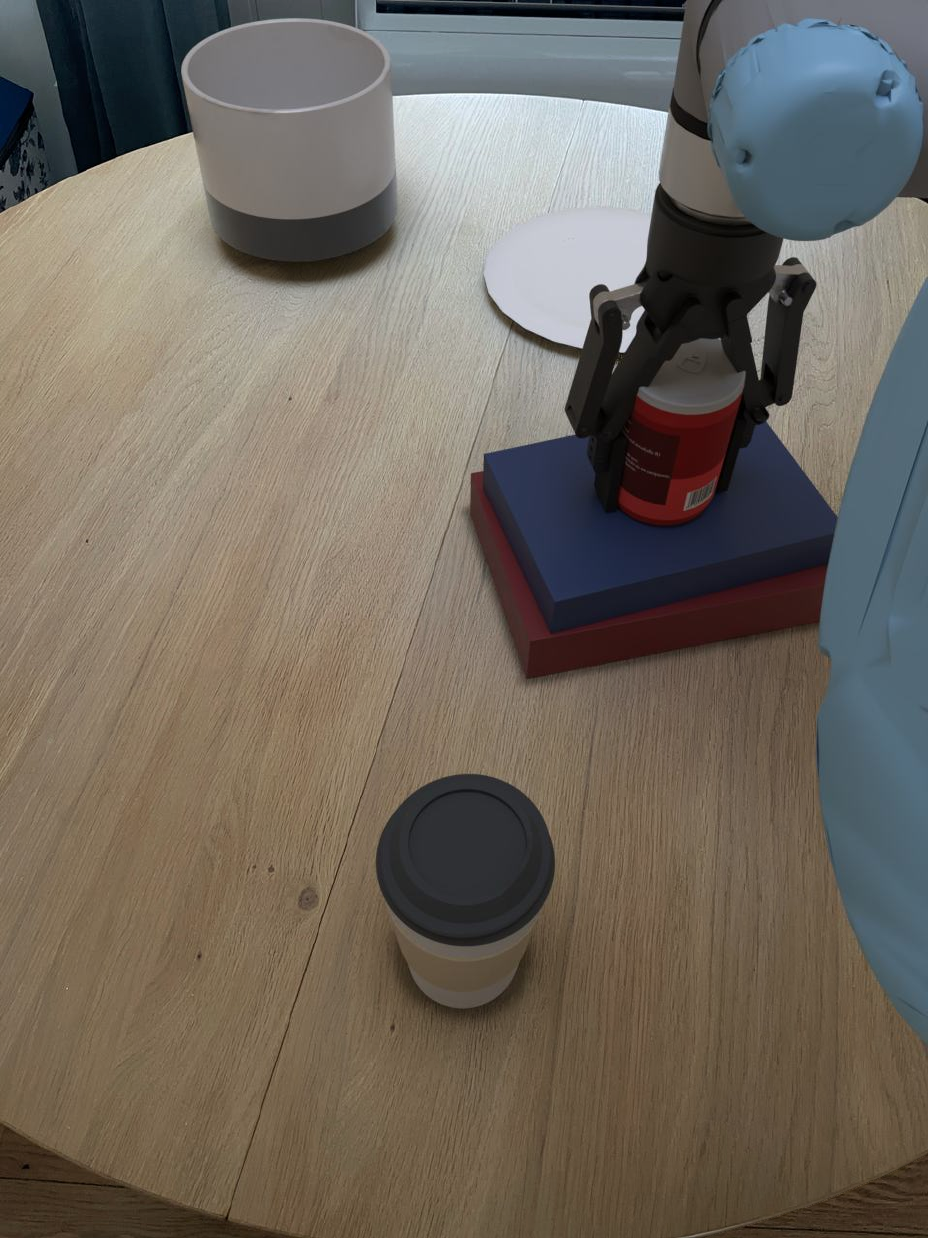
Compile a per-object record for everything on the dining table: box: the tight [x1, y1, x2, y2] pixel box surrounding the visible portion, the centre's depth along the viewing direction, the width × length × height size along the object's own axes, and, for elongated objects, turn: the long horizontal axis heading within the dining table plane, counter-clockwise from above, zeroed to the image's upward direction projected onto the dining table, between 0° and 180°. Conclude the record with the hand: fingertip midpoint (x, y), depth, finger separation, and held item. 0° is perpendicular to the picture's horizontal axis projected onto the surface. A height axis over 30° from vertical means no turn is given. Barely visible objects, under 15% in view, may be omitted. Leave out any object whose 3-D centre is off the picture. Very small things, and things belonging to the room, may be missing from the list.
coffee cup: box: [375, 773, 556, 1010], centre depth 56 cm, size 9×9×15 cm
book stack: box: [469, 421, 838, 680], centre depth 78 cm, size 17×24×8 cm
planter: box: [180, 17, 398, 263], centre depth 103 cm, size 19×19×18 cm
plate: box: [483, 205, 652, 355], centre depth 104 cm, size 25×25×2 cm
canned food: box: [617, 338, 746, 526], centre depth 71 cm, size 8×8×11 cm
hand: (660, 487), depth 75 cm, fingers closed on canned food, 8 cm apart
